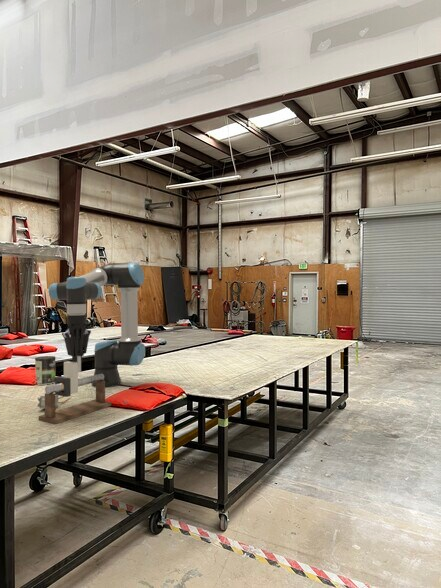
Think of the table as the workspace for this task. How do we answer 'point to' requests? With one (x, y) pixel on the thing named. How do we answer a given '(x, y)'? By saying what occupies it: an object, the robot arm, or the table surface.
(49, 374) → the coffee can
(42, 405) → the electrical component
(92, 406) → the pipe stand
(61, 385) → the steel pipe
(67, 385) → the dark gray nut plate
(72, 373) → the white u-shaped bracket
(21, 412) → the table surface
